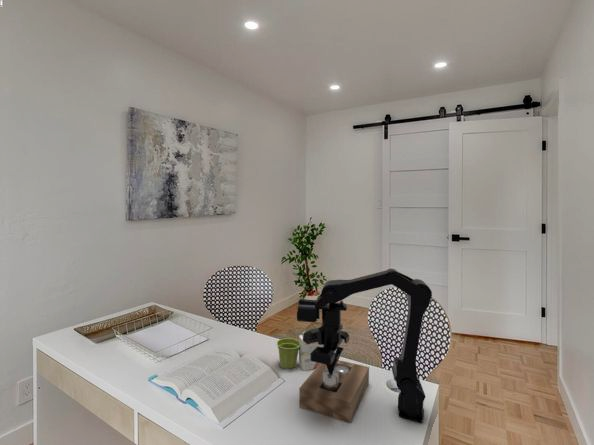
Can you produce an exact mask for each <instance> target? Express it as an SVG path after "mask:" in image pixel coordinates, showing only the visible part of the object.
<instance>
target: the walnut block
mask: <svg viewBox="0 0 594 445" xmlns="http://www.w3.org/2000/svg"><path fill="white" fill-rule="evenodd" d="M336 366H346V367H347V368H348V369H349V373H348V375H345V374H341V373H339V379H338V391H337V392H332V391H328V390H325V389H323V371H324V370H326V369H327V365H326V364H322V363H320V364H319V365H318V367H317V368H316V369H313V371H312V373H311V374H310V375H309V376H308V377H307V378H306V379H305V381H304V382H303V383H302V384H301V386H300V387H299V390H298V391H299V399H298V401H299V404H298V405H299V408H301V409H304V410H307V411H310V412H313V413H317V414H320V415H323V416H326V417H330V418H333V419H336V420H340V421H342V422H346V423H349V424H351V423H352V422H353V418H355V415H356V412H357V410H358V408H359V406H360V403H361V401H362V400H363V398H364V395H365V393H366V391H367V389H368V386H369V385H370V366H367V365H361V364H358V363H352V362H348V361H344V360H341V359H339V360H338V362H337V364H336ZM334 370H335V369H334Z"/></svg>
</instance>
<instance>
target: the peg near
mask: <svg viewBox="0 0 594 445" xmlns="http://www.w3.org/2000/svg"><path fill="white" fill-rule="evenodd" d="M338 379H339V373H338V371H336V370H334V371H333V373H332V374H331V373H329V372H328V369H326V370H324V371H323V389H325V390H328V391H332V392H337V391H338Z"/></svg>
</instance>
